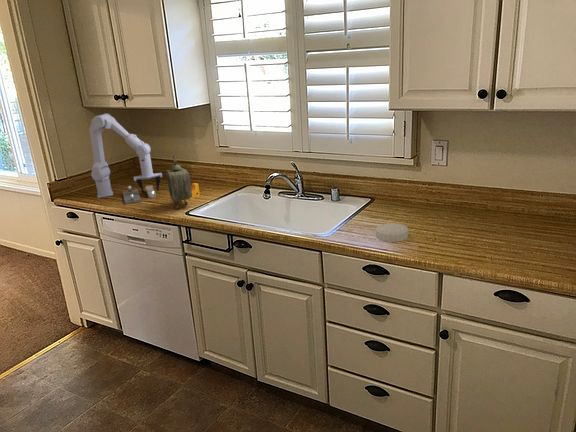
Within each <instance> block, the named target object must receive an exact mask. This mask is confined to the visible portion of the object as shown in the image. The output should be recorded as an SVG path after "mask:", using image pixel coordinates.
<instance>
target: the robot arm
mask: <svg viewBox="0 0 576 432" xmlns="http://www.w3.org/2000/svg"><path fill="white" fill-rule="evenodd" d="M105 129H107V130H108V129H109V130H113V131H114V132H116V133H117V134H119V136H121V137H122V138H123V139H124V140H125V143H126V144H128V145H129V147H131V148H132V149H133V150H134V151H135V153H136V155H137V156H138V160H139V166H140V171H141V175H137V176H133V181H134V182H136V183H137V185H138V186H139V188H140V190H141V193H142V194H144V193H145V191H144V186H143V182H142V180H150V179H154V180H155V185H156V191H157V192H159V188H160V183H161V179H162V178H163V173H162V172H158V173H157V172H156V173H154V172H153V171H154V170H153V165H152V164H153V163H152V159H151V151H152V147H151V145H150V144H149V143H146V142H144V141H143V140H141V139H140V138H138V137H137V136H138V135H137V134H134V133H129V132H128V131H127V130H126V129H125V128H124V127H123V126H122V125H121V124H120V123H119V122H118V121H117V119H115V117H113V116H112V115H111V114H110V113H103V114H100V115H96V116H94V117H93V118H92V119H91V123H90V126H89V137H90V143H91V149H92V150H91V151H92V157H93V164H92V167H91V173H90V175H91V177H92V180H94V183H95V186H96V190H97V199H101V198H106V197H113V196H114V191H113V190H112V185H111V180H110V175H111V169H110V167H109V164H108V162H107V161H106V158H105V151H104V145H103V136H102V132H103V131H104V130H105Z"/></svg>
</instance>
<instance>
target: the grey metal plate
mask: <svg viewBox="0 0 576 432" xmlns="http://www.w3.org/2000/svg"><path fill="white" fill-rule="evenodd" d="M139 193H140V192H139V189H132V186H131V185H127V190H124V191H123V190H122V196H123V201H124V205H129V204H136V203H142V199H141V196H140V194H139Z"/></svg>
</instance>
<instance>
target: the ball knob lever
mask: <svg viewBox="0 0 576 432" xmlns="http://www.w3.org/2000/svg"><path fill="white" fill-rule="evenodd" d="M145 193H147V198H148V199H153V198H156V197H157V195H156V190H154V186H153V184H151V185H149V184H148V185H146V186H145Z"/></svg>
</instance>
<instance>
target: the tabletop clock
mask: <svg viewBox="0 0 576 432" xmlns="http://www.w3.org/2000/svg"><path fill="white" fill-rule="evenodd" d="M176 157H177V156H176V155H175V154H173V156H172V159H173V165H172V166H171V167H170V169H167V170H166V171H165V172H166V179H167V180H166V181H167V186H168V193H169V195H170V199H171V201H172V203H173V204H176V203H177V206H176V210H180V208H181V207H180V204H181V203H182V202H181V201H182V200H184V205H185V206H186V205H188V204H189V202H188V201H189V200H191V199H190V198H191V197H192V190H191V189H192V184H191V177H190V173H189V171H188V170H187V169H185V168H183V167H182V166H181V165H180V164H177V163H178V162H177V158H176ZM188 199H189V200H188ZM186 200H187V201H186Z"/></svg>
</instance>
